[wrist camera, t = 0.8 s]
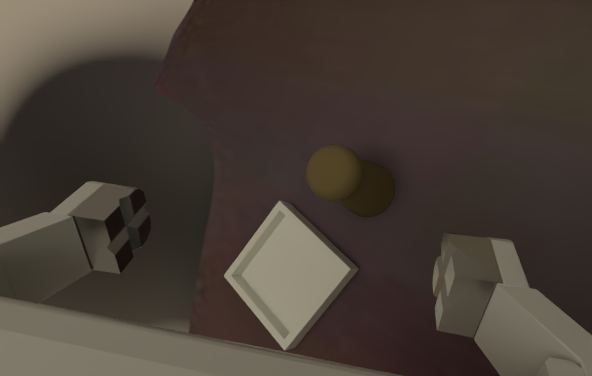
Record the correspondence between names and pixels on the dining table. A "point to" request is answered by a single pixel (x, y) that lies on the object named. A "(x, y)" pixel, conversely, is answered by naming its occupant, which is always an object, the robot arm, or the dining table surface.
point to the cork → (350, 180)
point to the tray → (289, 274)
